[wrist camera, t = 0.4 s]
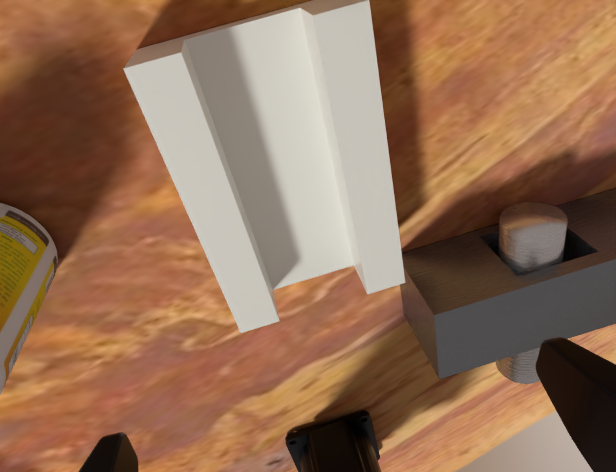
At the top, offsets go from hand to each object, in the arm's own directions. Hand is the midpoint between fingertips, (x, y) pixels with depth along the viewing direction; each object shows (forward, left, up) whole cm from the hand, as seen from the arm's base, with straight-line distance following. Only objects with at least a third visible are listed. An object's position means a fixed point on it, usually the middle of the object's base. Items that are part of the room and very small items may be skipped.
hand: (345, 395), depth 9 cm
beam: (-11, -12, -14) cm, 22 cm away
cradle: (-1, 0, -14) cm, 14 cm away
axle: (-13, -12, -12) cm, 21 cm away
